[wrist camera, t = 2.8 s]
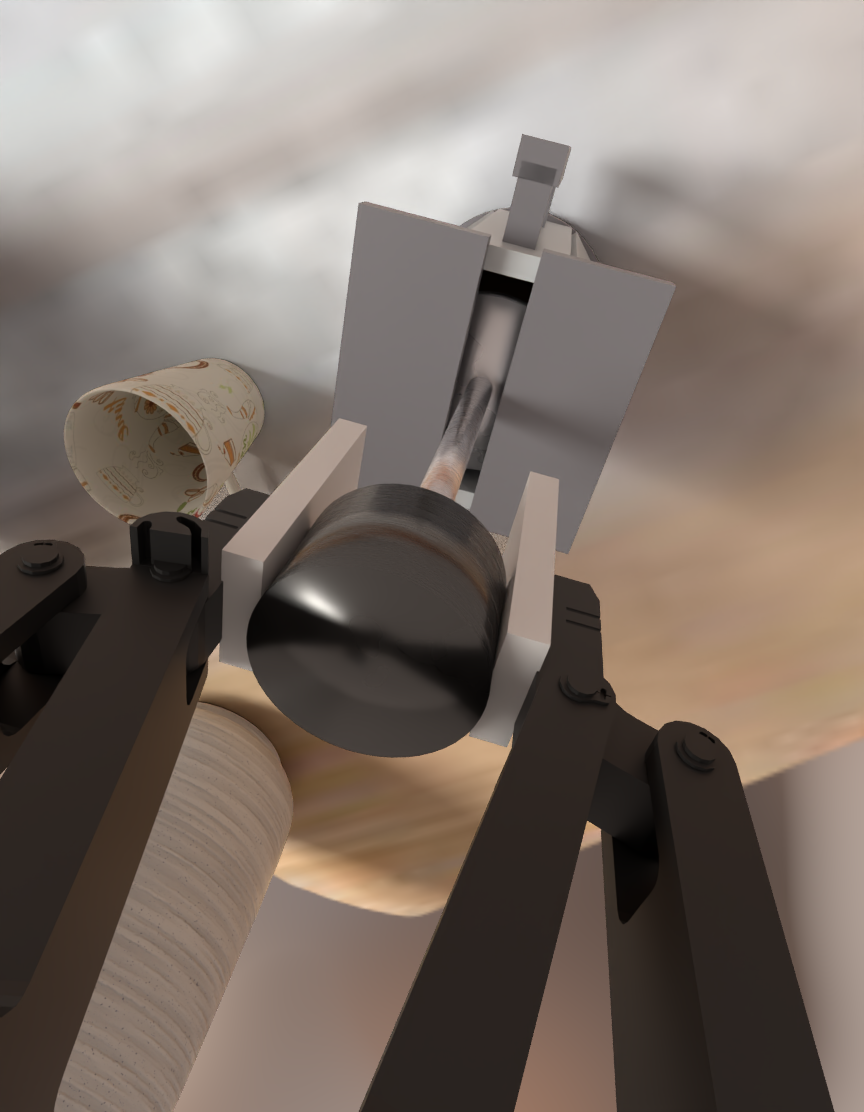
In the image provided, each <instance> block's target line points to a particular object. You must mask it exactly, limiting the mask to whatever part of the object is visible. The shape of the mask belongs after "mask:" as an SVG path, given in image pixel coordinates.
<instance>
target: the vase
mask: <svg viewBox="0 0 864 1112" xmlns="http://www.w3.org/2000/svg"><path fill="white" fill-rule="evenodd" d="M292 818H293V797H292V791H291V786H290V783H289V780H288V778H287V775H286V773H285V771H284V769H283V767H282V765H281V761H280V758H279V756H278V753H277V751H276V749H275V748H274V746H273V745H272V743H271V742H270V741H269V739H268V738H267V737H266V736H265V735H264V734H263V733H262V732H261V731H260V730H259V729H258V728H257V727H255V726H254V725H253V724H251V723H250V722H249V721H247V720H246V719H244V718H243V717H241V716H239V715H237V714H235V713H233V712H231V711H229V710H226V709H224V708H222V707H219V706H215V705H212V704H208V703H202V702H198V703H197V706H196V709H195V711H194V714H193V717H192V720H191V722H190V725H189V728H188V731H187V734H186V736H185V739H184V742H183V745H182V747H181V750H180V753H179V756H178V759H177V761H176V764H175V767H174V770H173V772H172V775H171V778H170V781H169V783H168V786H167V789H166V792H165V795H164V797H163V800H162V803H161V806H160V808H159V811H158V814H157V817H156V820H155V822H154V825H153V828H152V831H151V833H150V836H149V839H148V842H147V844H146V847H145V850H144V853H143V856H142V858H141V861H140V864H139V867H138V869H137V872H136V875H135V878H134V881H133V883H132V886H131V889H130V892H129V894H128V897H127V900H126V903H125V905H124V908H123V911H122V914H121V917H120V919H119V922H118V925H117V928H116V930H115V933H114V936H113V939H112V942H111V944H110V947H109V950H108V953H107V955H106V958H105V961H104V964H103V966H102V969H101V972H100V975H99V978H98V980H97V983H96V986H95V989H94V991H93V994H92V997H91V1000H90V1003H89V1005H88V1008H87V1011H86V1014H85V1016H84V1019H83V1022H82V1025H81V1027H80V1030H79V1033H78V1036H77V1039H76V1041H75V1044H74V1047H73V1050H72V1052H71V1055H70V1058H69V1061H68V1064H67V1066H66V1069H65V1072H64V1075H63V1078H62V1081H61V1084H60V1087H59V1090H58V1094H57V1098H56V1102H55V1108H54V1112H173V1110H174V1108H175V1106H176V1104H177V1102H178V1100H179V1097H180V1095H181V1093H182V1090H183V1088H184V1086H185V1083H186V1081H187V1079H188V1076H189V1074H190V1072H191V1069H192V1067H193V1065H194V1062H195V1060H196V1058H197V1055H198V1053H199V1051H200V1049H201V1046H202V1044H203V1042H204V1039H205V1037H206V1034H207V1032H208V1030H209V1028H210V1025H211V1023H212V1021H213V1018H214V1016H215V1014H216V1011H217V1009H218V1006H219V1004H220V1002H221V1000H222V997H223V995H224V992H225V990H226V987H227V985H228V983H229V980H230V978H231V976H232V973H233V971H234V968H235V966H236V964H237V961H238V959H239V957H240V954H241V952H242V949H243V947H244V944H245V942H246V940H247V937H248V935H249V933H250V930H251V928H252V925H253V923H254V921H255V918H256V916H257V913H258V911H259V908H260V906H261V903H262V901H263V898H264V896H265V894H266V891H267V889H268V886H269V884H270V881H271V879H272V876H273V874H274V871H275V869H276V867H277V864H278V862H279V859H280V856H281V854H282V851H283V848H284V845H285V843H286V840H287V837H288V834H289V832H290V828H291V824H292Z"/></svg>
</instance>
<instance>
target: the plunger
mask: <svg viewBox="0 0 864 1112" xmlns="http://www.w3.org/2000/svg"><path fill="white" fill-rule="evenodd" d="M527 305H528V303H526V302H524V301H522V300H520V299H518V298H516V297H513V296H510V295H508V294H504V293H499V292H493V291H478V294H477V298H476V302H475V307H474V311H473V315H472V319H471V324H470V328H469V332H468V336H467V340H466V345H465V349H464V353H463V357H462V362H461V366H460V370H459V374H458V379H457V383H456V387H455V391H454V395H453V400H452V404H451V408H450V412H449V417H448V421H447V425H446V429H445V434H444V436H443V438H442V440H441V443H440V445H439V447H438V449H437V451H436V453H435V455H434V458H433V460H432V462H431V464H430V466H429V468H428V470H427V473H426V475H425V477H424V479H423V481H422V483H421V485H420V487H417V486H413V485H406V484H396V483H392V484H376V485H370V486H366V487H362V488H359V489H355V490H353V491H351V492H349V493H346V494H344V495H343V496H341V497H339V498H338V499H336V500H335V501H333V502H332V503H331V504H330V505H329V506H328V507H327V508H325V509H324V511H323V512H322V513H321V514H320V516H319V517H318V518H317V519H316V521H315V522H314V524H313V525H312V527H311V528H310V529H309V531H308V532H307V534H306V535H305V536H304V538H303V539H302V541H301V542H300V543H299V545H298V546H297V548H296V549H295V551H294V552H293V553H292V555H291V556H290V558H289V559H288V560H287V562H286V563H285V565H284V566H283V568H282V569H281V570H280V572H279V573H278V575H277V576H276V577H275V579H274V580H273V582H272V583H271V584H270V586H269V587H268V589H267V590H266V592H265V593H264V594H263V596H262V597H261V599H260V600H259V601H258V603H257V605H256V607H255V608H254V610H253V612H252V614H251V617H250V620H249V623H248V628H247V635H246V641H247V652H248V658H249V662H250V665H251V667H252V670H253V673H254V675H255V677H256V679H257V681H258V683H259V685H260V686H261V688H262V689H263V691H264V692H265V694H266V695H267V696H268V697H269V699H270V700H271V701H272V702H273V703H274V705H275V706H276V707H277V708H278V709H279V710H280V711H281V712H282V713H283V714H284V715H285V716H287V717H288V718H289V719H290V720H292V721H293V722H294V723H295V724H297V725H298V726H300V727H301V728H303V729H304V730H306V731H307V732H309V733H310V734H312V735H314V736H316V737H318V738H320V739H321V740H324V741H326V742H328V743H330V744H333V745H335V746H338V747H341V748H343V749H346V750H349V751H353V752H357V753H361V754H366V755H372V756H379V757H412V756H420V755H424V754H428V753H432V752H435V751H438V750H441V749H444V748H446V747H448V746H450V745H452V744H454V743H456V742H457V741H458V740H460V739H461V738H463V737H464V736H465V735H466V734H467V733H468V732H470V731H471V730H472V729H473V728H474V726H475V725H476V724H477V722H478V721H479V720H480V718H481V716H482V714H483V712H484V710H485V708H486V705H487V702H488V698H489V694H490V687H491V681H492V673H493V667H494V660H495V654H496V648H497V642H498V636H499V629H500V623H501V617H502V611H503V604H504V598H505V592H506V571H505V566H504V562H503V558H502V556H501V553H500V551H499V548H498V546H497V544H496V543H495V541H494V539H493V537H492V536H491V534H490V533H489V532H488V530H487V529H486V528H485V526H484V525H483V524H482V523H481V522H480V521H479V520H478V519H477V518H476V517H475V516H474V515H473V514H472V513H470V512H469V511H468V510H467V509H465V508H464V507H463V506H461V505H460V504H458V503H456V502H455V498H456V495H457V493H458V490H459V487H460V484H461V481H462V478H463V475H464V473H465V470H466V468H467V469H474V470H481V468H482V465H483V461H484V458H485V454H486V451H487V447H488V444H489V440H490V437H491V433H492V430H493V426H494V422H495V419H496V415H497V412H498V408H499V405H500V401H501V398H502V394H503V391H504V387H505V383H506V380H507V376H508V373H509V369H510V366H511V362H512V359H513V355H514V352H515V348H516V344H517V341H518V337H519V334H520V330H521V327H522V323H523V320H524V316H525V313H526V309H527Z"/></svg>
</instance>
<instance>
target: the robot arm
mask: <svg viewBox="0 0 864 1112" xmlns="http://www.w3.org/2000/svg"><path fill="white" fill-rule="evenodd" d="M366 430H367V426H366V425H362V424H359V423H355V422H351V421H348V420H344V419H341V418H339V419H338V420H337V421H336V422H335V423H334V425H333V426H332V427H331V428H330V429H329V430H328V431H327V432H326V434H325V435H324V436H323V437H322V438H321V439H320V440H319V441H318V443H317V444H316V445H315V446H314V447H313V448H312V449H311V450H310V451H309V453H308V454H307V455H306V456H305V457H304V458H303V459H302V460H301V462H300V463H299V464H298V465H297V466H296V467H295V468H294V469H293V471H292V472H291V473H290V474H289V475H288V476H287V477H286V478H285V480H284V481H283V482H282V483H281V484H280V485H279V486H278V487H277V489H276V490H275V491H274V492H273V493H272V494H271V495H268V494H264V493H261V492H257V491H254V490H250V489H243V490H241V491H239V492H236V493H234V494H231V495H229V496H227V497H226V498H225V499H224V500H223V501H222V502H221V503H220V504H219V505H218V506H217V507H216V508H215V510H213V511H212V512H210V513H209V514H208V515H207V516H206V518H205V520H200V519H198V518H197V517H195V516H192V515H189V514H185V513H181V512H166V511H165V512H158V513H151V514H148V515H146V516H143V517H141V518H138V519H137V520H136V521H135V522H133V523H132V524H131V525H130V539H131V552H132V566H131V567H130V568H110V567H95V566H85V558H84V554H83V553H82V552H81V551H80V549H79V548H78V547H76V546H74V545H72V544H70V543H68V542H62V541H57V540H36V541H31V542H27V543H23V544H19V545H17V546H15V547H13V548H11V549H9V550H7V551H5V552H4V553H2V554H1V555H0V774H1V773H2V772H3V771H4V770H5V769H6V768H7V769H6V771H5V772H4V774H3V776H2V777H1V779H0V1112H54V1108H55V1102H56V1098H57V1094H58V1090H59V1087H60V1084H61V1081H62V1078H63V1075H64V1072H65V1069H66V1066H67V1064H68V1061H69V1058H70V1055H71V1052H72V1050H73V1047H74V1044H75V1041H76V1039H77V1036H78V1033H79V1030H80V1027H81V1025H82V1022H83V1019H84V1016H85V1014H86V1011H87V1008H88V1005H89V1003H90V1000H91V997H92V994H93V991H94V989H95V986H96V983H97V980H98V978H99V975H100V972H101V969H102V966H103V964H104V961H105V958H106V955H107V953H108V950H109V947H110V944H111V942H112V939H113V936H114V933H115V930H116V928H117V925H118V922H119V919H120V917H121V914H122V911H123V908H124V905H125V903H126V900H127V897H128V894H129V892H130V889H131V886H132V883H133V881H134V878H135V875H136V872H137V869H138V867H139V864H140V861H141V858H142V856H143V853H144V850H145V847H146V844H147V842H148V839H149V836H150V833H151V831H152V828H153V825H154V822H155V820H156V817H157V814H158V811H159V808H160V806H161V803H162V800H163V797H164V795H165V792H166V789H167V786H168V783H169V781H170V778H171V775H172V772H173V770H174V767H175V764H176V761H177V759H178V756H179V753H180V750H181V747H182V745H183V742H184V739H185V736H186V734H187V731H188V728H189V725H190V722H191V720H192V717H193V714H194V711H195V709H196V706H197V703H198V700H199V698H200V695H201V692H202V689H203V686H204V684H205V681H206V678H207V673H208V657H209V656H210V654H211V653H212V652H213V650H214V649H215V648H216V646H217V645H218V643H219V642H220V653H219V662H222V663H226V664H229V665H232V666H236V667H239V668H243V669H246V670H249V671H253V670H252V667H251V665H250V662H249V658H248V652H247V641H246V635H247V628H248V623H249V620H250V617H251V614H252V612H253V610H254V608H255V607H256V605H257V603H258V601H259V600H260V599H261V597H262V596H263V594H264V593H265V592H266V590H267V589H268V587H269V586H270V584H271V583H272V582H273V580H274V579H275V577H276V576H277V575H278V573H279V572H280V570H281V569H282V568H283V566H284V565H285V563H286V562H287V560H288V559H289V558H290V556H291V555H292V553H293V552H294V551H295V549H296V548H297V546H298V545H299V543H300V542H301V541H302V539H303V538H304V536H305V535H306V534H307V532H308V531H309V529H310V528H311V527H312V525H313V524H314V522H315V521H316V519H317V518H318V517H319V516H320V514H321V513H322V512H323V511H324V509H325V508H327V507H328V506H329V505H330V504H331V503H332V502H333V501H335V500H336V499H338V498H339V497H341V496H343V495H344V494H346V493H349V492H351V491H353V490H355V489H357V486H358V480H359V474H360V467H361V461H362V455H363V449H364V442H365V436H366ZM558 490H559V479H556V478H553V477H549V476H546V475H542V474H538V473H535V472H531V471H530V474H529V477H528V480H527V483H526V486H525V489H524V492H523V495H522V498H521V501H520V504H519V507H518V510H517V513H516V516H515V519H514V522H513V525H512V528H511V531H510V534H509V537H508V540H507V543H506V546H505V549H504V552H503V555H502V558H503V562H504V566H505V571H506V592H505V598H504V604H503V611H502V617H501V623H500V629H499V636H498V642H497V648H496V654H495V660H494V667H493V673H492V681H491V687H490V694H489V698H488V702H487V705H486V708H485V710H484V712H483V714H482V716H481V718H480V720H479V721H478V722H477V724H476V725H475V726H474V728H473V729H472V730H471V731H470V734H469V736H471V737H474V738H477V739H481V740H484V741H488V742H491V743H494V744H498V745H501V746H504V747H507V746H508V743H509V741H510V739H511V736H512V734H513V741H512V749H511V751H510V753H509V756H508V758H507V760H506V763H505V765H504V767H503V770H502V772H501V774H500V776H499V779H498V781H497V783H496V786H495V788H494V791H493V794H492V796H491V798H490V801H489V803H488V805H487V808H486V810H485V813H484V815H483V817H482V820H481V822H480V824H479V827H478V829H477V832H476V834H475V836H474V839H473V841H472V843H471V846H470V848H469V851H468V853H467V855H466V858H465V860H464V862H463V865H462V867H461V870H460V872H459V874H458V877H457V879H456V881H455V884H454V886H453V889H452V891H451V893H450V896H449V898H448V901H447V903H446V905H445V908H444V910H443V912H442V915H441V918H440V920H439V922H438V925H437V927H436V929H435V931H434V934H433V936H432V939H431V941H430V943H429V946H428V948H427V950H426V953H425V955H424V958H423V960H422V962H421V965H420V967H419V970H418V972H417V974H416V977H415V979H414V981H413V984H412V986H411V988H410V991H409V993H408V996H407V998H406V1000H405V1003H404V1006H403V1007H402V1010H401V1012H400V1015H399V1017H398V1019H397V1022H396V1024H395V1027H394V1029H393V1032H392V1034H391V1036H390V1038H389V1041H388V1043H387V1046H386V1048H385V1050H384V1053H383V1055H382V1057H381V1060H380V1062H379V1065H378V1067H377V1069H376V1072H375V1074H374V1077H373V1079H372V1081H371V1084H370V1086H369V1088H368V1091H367V1093H366V1096H365V1098H364V1100H363V1103H362V1105H361V1107H360V1110H359V1112H514V1109H515V1105H516V1101H517V1097H518V1092H519V1089H520V1085H521V1081H522V1077H523V1073H524V1069H525V1065H526V1061H527V1057H528V1053H529V1049H530V1045H531V1041H532V1037H533V1033H534V1029H535V1025H536V1021H537V1017H538V1013H539V1009H540V1005H541V1001H542V997H543V993H544V989H545V985H546V981H547V978H548V974H549V970H550V965H551V962H552V958H553V954H554V950H555V945H556V942H557V938H558V934H559V930H560V926H561V922H562V917H563V914H564V910H565V906H566V902H567V898H568V894H569V890H570V886H571V882H572V878H573V874H574V870H575V866H576V862H577V858H578V854H579V850H580V846H581V842H582V838H583V834H584V830H585V826H586V822H587V821H589V822H591V823H592V824H594V825H595V826H597V827H599V828H600V829H601V840H602V858H603V875H604V893H605V909H606V928H607V945H608V962H609V979H610V998H611V1016H612V1031H613V1032H612V1033H613V1050H614V1068H615V1085H616V1103H617V1112H834V1109H833V1105H832V1102H831V1098H830V1095H829V1091H828V1087H827V1084H826V1080H825V1077H824V1073H823V1070H822V1066H821V1063H820V1059H819V1056H818V1052H817V1049H816V1045H815V1041H814V1038H813V1034H812V1031H811V1027H810V1024H809V1020H808V1017H807V1013H806V1010H805V1006H804V1003H803V999H802V996H801V992H800V988H799V985H798V982H797V978H796V974H795V971H794V967H793V964H792V960H791V957H790V953H789V950H788V946H787V943H786V939H785V936H784V932H783V929H782V925H781V921H780V918H779V915H778V911H777V907H776V904H775V900H774V897H773V893H772V890H771V886H770V882H769V879H768V875H767V872H766V868H765V865H764V862H763V858H762V854H761V851H760V847H759V844H758V840H757V837H756V833H755V830H754V826H753V822H752V819H751V815H750V812H749V808H748V805H747V802H746V798H745V795H744V791H743V787H742V784H741V780H740V776H739V773H738V769H737V766H736V763H735V761H734V759H733V757H732V755H731V753H730V751H729V750H728V748H727V747H726V746H725V745H724V744H723V743H722V742H721V741H720V740H719V738H717V737H716V736H714V735H713V734H711V733H710V732H709V731H707V730H706V729H704V728H702V727H699V726H697V725H695V724H692V723H690V722H682V721H673V722H670V723H666V724H664V726H663V727H662V728H661V729H660V730H659V731H658V730H656V729H654V728H652V727H651V726H649V725H647V724H645V723H643V722H642V721H640V720H638V719H636V718H635V717H633V716H632V715H630V714H628V713H627V712H625V711H624V710H623V709H622V708H621V707H620V706H619V705H618V704H617V703H616V695H615V693H614V691H613V689H612V687H611V685H610V683H609V682H608V681H607V680H606V679H605V678H604V677H603V658H602V639H601V632H600V631H601V620H600V601H599V599H598V598H597V596H596V594H595V593H594V591H593V589H592V588H591V586H590V585H589V584H586V583H582V582H579V581H575V580H572V579H568V578H565V577H561V576H558V575H554V568H555V549H556V529H557V510H558Z"/></svg>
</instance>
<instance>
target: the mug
mask: <svg viewBox="0 0 864 1112" xmlns="http://www.w3.org/2000/svg"><path fill="white" fill-rule="evenodd" d="M264 415H265V412H264V404H263V400H262V396H261V394H260V392H259V390H258V388H257V386H256V385H255V383H254V382H253V380H252V379H251V378H250V377H249V376H248V375H247V374H246V373H245V372H244V371H243V370H242V369H240V368H239V367H237V366H236V365H234V364H232V363H230V362H228V361H225V360H222V359H216V358H206V359H200V360H196V361H192V362H188V363H185V364H181V365H177V366H174V367H170V368H166V369H162V370H159V371H155V372H151V373H148V374H144V375H140V376H136V377H133V378H129V379H125V380H122V381H118V382H114V383H111V384H107V385H104V386H101V387H98V388H95V389H93V390H91V391H89V392H87V393H86V394H84V395H83V396H81V397H80V398H79V399H78V400H77V401H76V402H75V403H74V404H73V406H72V407H71V409H70V411H69V413H68V415H67V418H66V421H65V426H64V443H65V449H66V454H67V457H68V460H69V462H70V465H71V467H72V469H73V471H74V473H75V475H76V477H77V478H78V480H79V482H80V483H81V485H82V486H83V487H84V489H85V490H86V491H87V492H88V493H89V495H90V496H91V497H92V498H93V499H94V500H95V501H96V502H97V503H98V504H99V505H101V506H102V507H103V508H104V509H105V510H107V511H108V512H109V513H111V514H112V515H114V516H116V517H117V518H119V519H121V520H122V521H124V522H126V523H129V524H132V523H133V522H135V521H136V520H137V519H138V518H141V517H143V516H146V515H148V514H151V513H158V512H165V511H166V512H181V513H185V514H189V515H192V516H195V517H197V518H198V517H199V516H200V515H201V514H202V513H203V512H204V511H205V510H206V508H207V507H208V506H209V505H210V503H211V502H212V500H213V499H214V497H215V496H216V494H217V493H218V492H219V490H220V489H221V487H222V486H223V484H224V483H225V485H226V487H227V490H228V492H229V495H231V494H234V493H236V492H239V491H241V489H240V486H239V484H238V482H237V480H236V478H235V476H234V474H233V470H234V469H235V467H236V466H237V464H238V463H239V462H240V460H241V459H242V457H243V456H244V454H245V453H246V451H247V450H248V449H249V447H250V446H251V444H252V443H253V441H254V440H255V439H256V437H257V436H258V434H259V432H260V430H261V428H262V425H263V422H264Z"/></svg>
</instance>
